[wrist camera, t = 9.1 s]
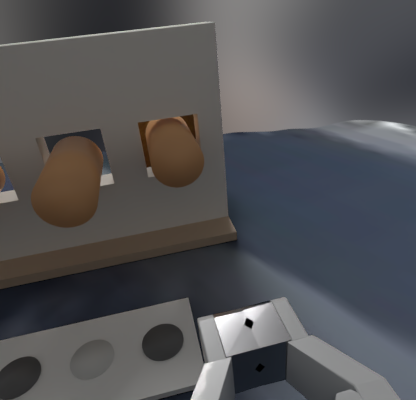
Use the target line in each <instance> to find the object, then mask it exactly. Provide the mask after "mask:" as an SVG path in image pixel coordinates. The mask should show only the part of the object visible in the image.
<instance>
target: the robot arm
mask: <svg viewBox="0 0 416 400" xmlns="http://www.w3.org/2000/svg"><path fill="white" fill-rule="evenodd" d="M197 322H198V328H199V334H200V341H201V346H202V351H203V357H204V361H205V364H203V367H202V370H201V373H200V375H199V378H198V381H197V383H196V386H195V389H194V392H193V394H192V397H191V400H234V399H235V394H236V393H240V392H243V391H246V390H249V389H252V388H256V387H259V386H262V385H266V384H270V383H274V382H278V381H282V380H286V381H287V382H288V383H289V384H290V385H292V386H293V387H294V388H295V389H296V390H297V391H299V392H300V393H301V394H302V395H303V396H304V397H305V398H307V399H308V400H400V398H399V397H398V396H397V394H396V393H395V391H394V390H393V389H392V387H391V386H390V384H389V383H388V382H387V380H386V379H385V378H384V377H382V376H381V375H379V374H377V373H376V372H374V371H372V370H371V369H369V368H367V367H366V366H364V365H362V364H361V363H359V362H357V361H356V360H354V359H352V358H351V357H349V356H347V355H346V354H344V353H342V352H341V351H339V350H337V349H336V348H334V347H332V346H331V345H329V344H327V343H326V342H324V341H322V340H320V339H319V338H317V337H315V336H314V335H311V336H308V334H307V332H306V331H305V329H304V327H303V326H302V324H301V322H300V320H299V319H298V317H297V315H296V314H295V312H294V310H293V308H292V307H291V305H290V303H289V302H288V300H287V299H286V298H285V297H282V298H278V299H274V300H270V301H265V302H261V303H258V304H254V305H250V306H246V307H242V308H240V309H235V310H231V311H226V312H222V313H217V314H213V315H209V316H204V317H200V318H197Z"/></svg>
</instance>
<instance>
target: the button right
mask: <svg viewBox="0 0 416 400" xmlns="http://www.w3.org/2000/svg"><path fill="white" fill-rule="evenodd" d="M145 135H146V141H147V146H148V152H149V157H150V163H151V168H152V172H153V174H154V176H155V177H156V178H157V180H158V181H159V182H161V183H162V184H164V185H166V186H169V187H175V188H178V187H184V186H187V185H189V184H191V183H193V182H194V181H195V180H196V179H197V178H198V177H199V176H200V174H201V173H202V170H203V167H204V156H203V153H202V151H201V149H200V147H199V145H198V143H197V142H196V140H195V138H194V136H193V135H192V133H191V131H190V129H189V128H188V126H187V124H186V122H185V121H184V120H183V119H182V118H181V117H180V116H178V117H172V118H165V119H159V120H152V121H149V123H148V125H147V127H146V133H145Z"/></svg>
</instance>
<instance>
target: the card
mask: <svg viewBox="0 0 416 400" xmlns="http://www.w3.org/2000/svg"><path fill="white" fill-rule="evenodd" d="M203 364H204V363H203V359H202V355H201V350H200V346H199V342H198V337H197V333H196V329H195V324H194V320H193V316H192V311H191V307H190V303H189V298H184V299H179V300H175V301H171V302H166V303H162V304H157V305H153V306H149V307H144V308H140V309H136V310H131V311H127V312H122V313H118V314H114V315H109V316H105V317H101V318H96V319H92V320H88V321H83V322H79V323H74V324H70V325H66V326H61V327H57V328H53V329H48V330H44V331H39V332H35V333H31V334H26V335H22V336H18V337H13V338H9V339H4V340H0V400H158V399H161V398H165V397H169V396H172V395H176V394H180V393H184V392H187V391H191V390H194V389H195V386H196V383H197V381H198V378H199V375H200V373H201V370H202V367H203Z"/></svg>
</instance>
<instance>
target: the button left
mask: <svg viewBox="0 0 416 400" xmlns="http://www.w3.org/2000/svg"><path fill="white" fill-rule="evenodd" d="M4 184H5V174H4V172H3V170H2V168H1V166H0V192H1V190H2V189H3V187H4Z"/></svg>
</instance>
